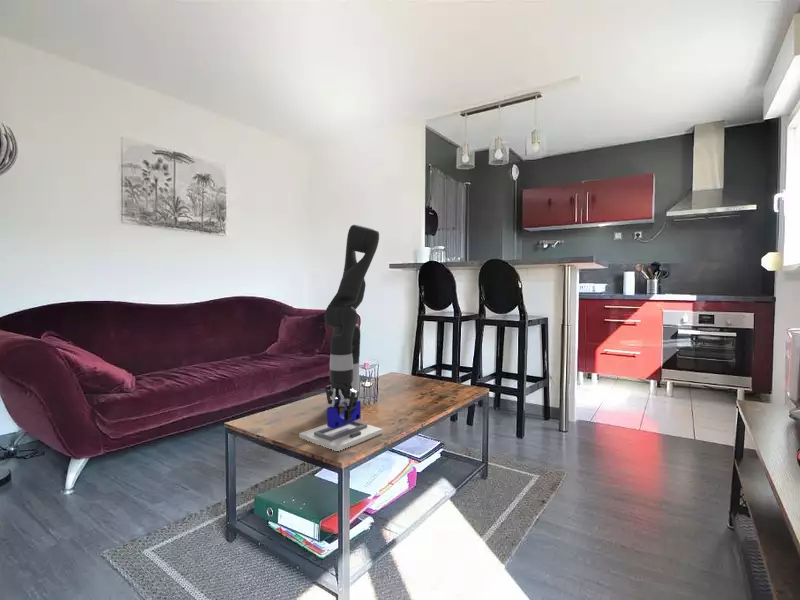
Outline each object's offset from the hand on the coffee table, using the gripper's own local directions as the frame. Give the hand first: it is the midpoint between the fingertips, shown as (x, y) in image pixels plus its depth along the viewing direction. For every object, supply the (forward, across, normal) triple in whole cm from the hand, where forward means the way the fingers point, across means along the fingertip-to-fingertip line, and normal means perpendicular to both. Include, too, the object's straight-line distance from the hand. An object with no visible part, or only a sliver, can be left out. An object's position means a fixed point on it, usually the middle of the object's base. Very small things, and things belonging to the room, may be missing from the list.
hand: (341, 419), depth 137 cm
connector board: (+6, 0, 0) cm, 6 cm away
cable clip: (+1, 0, 0) cm, 1 cm away
